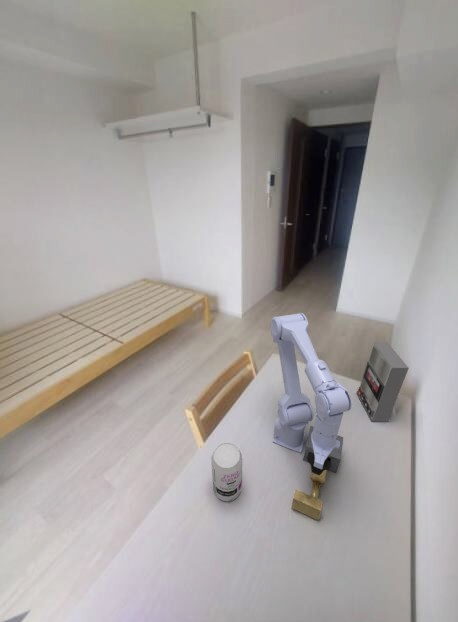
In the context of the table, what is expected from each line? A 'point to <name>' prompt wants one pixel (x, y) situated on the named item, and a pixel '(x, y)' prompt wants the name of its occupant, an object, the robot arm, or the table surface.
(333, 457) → the bore block
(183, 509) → the table surface
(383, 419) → the cassette tape recorder
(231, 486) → the supplement can
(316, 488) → the plunger with bar handle
